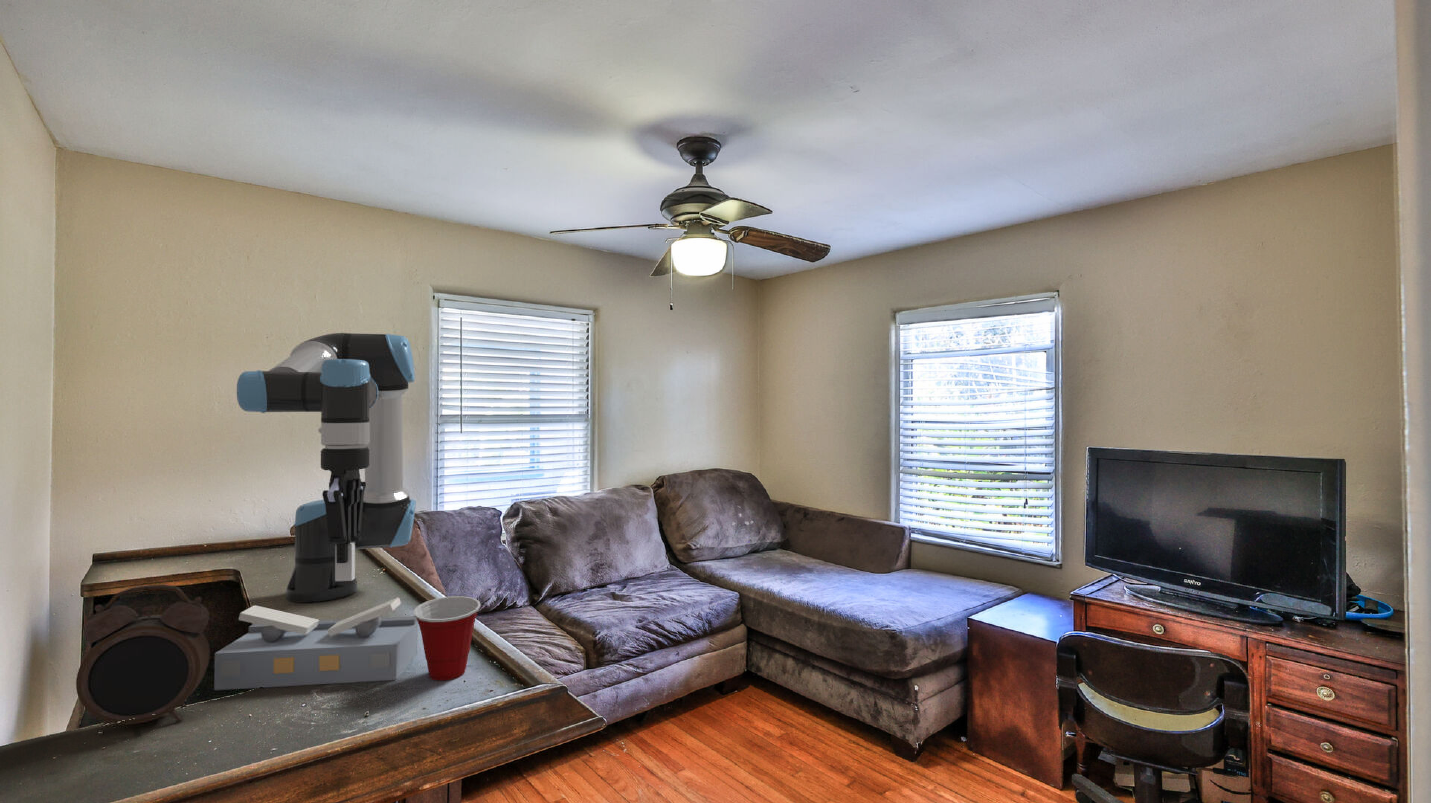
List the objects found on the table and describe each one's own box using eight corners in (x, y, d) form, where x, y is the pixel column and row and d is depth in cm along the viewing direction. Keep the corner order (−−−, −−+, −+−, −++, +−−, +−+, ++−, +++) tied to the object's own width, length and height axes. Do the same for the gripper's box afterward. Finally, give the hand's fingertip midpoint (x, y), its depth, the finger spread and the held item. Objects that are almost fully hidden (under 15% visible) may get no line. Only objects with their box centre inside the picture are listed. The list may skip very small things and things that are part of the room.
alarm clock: (69, 746, 89) (70, 599, 90) (90, 723, 96) (91, 586, 96) (201, 723, 96) (202, 586, 96) (213, 703, 102) (214, 575, 103)
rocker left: (248, 625, 116) (254, 605, 116) (312, 639, 117) (319, 619, 117) (233, 634, 111) (240, 612, 111) (301, 648, 113) (307, 627, 113)
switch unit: (254, 661, 119) (254, 623, 119) (417, 653, 123) (417, 616, 123) (213, 690, 107) (213, 647, 107) (395, 680, 111) (395, 638, 111)
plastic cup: (407, 691, 107) (407, 617, 107) (418, 665, 118) (419, 598, 118) (477, 683, 110) (477, 611, 110) (483, 659, 120) (483, 594, 120)
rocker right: (345, 640, 118) (337, 621, 118) (406, 615, 120) (398, 596, 119) (335, 649, 114) (327, 630, 113) (398, 623, 115) (390, 604, 115)
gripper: (338, 444, 122) (337, 570, 122) (305, 449, 109) (304, 591, 109) (381, 443, 123) (380, 569, 123) (353, 449, 110) (353, 589, 110)
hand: (345, 579), depth 116 cm, fingers closed
